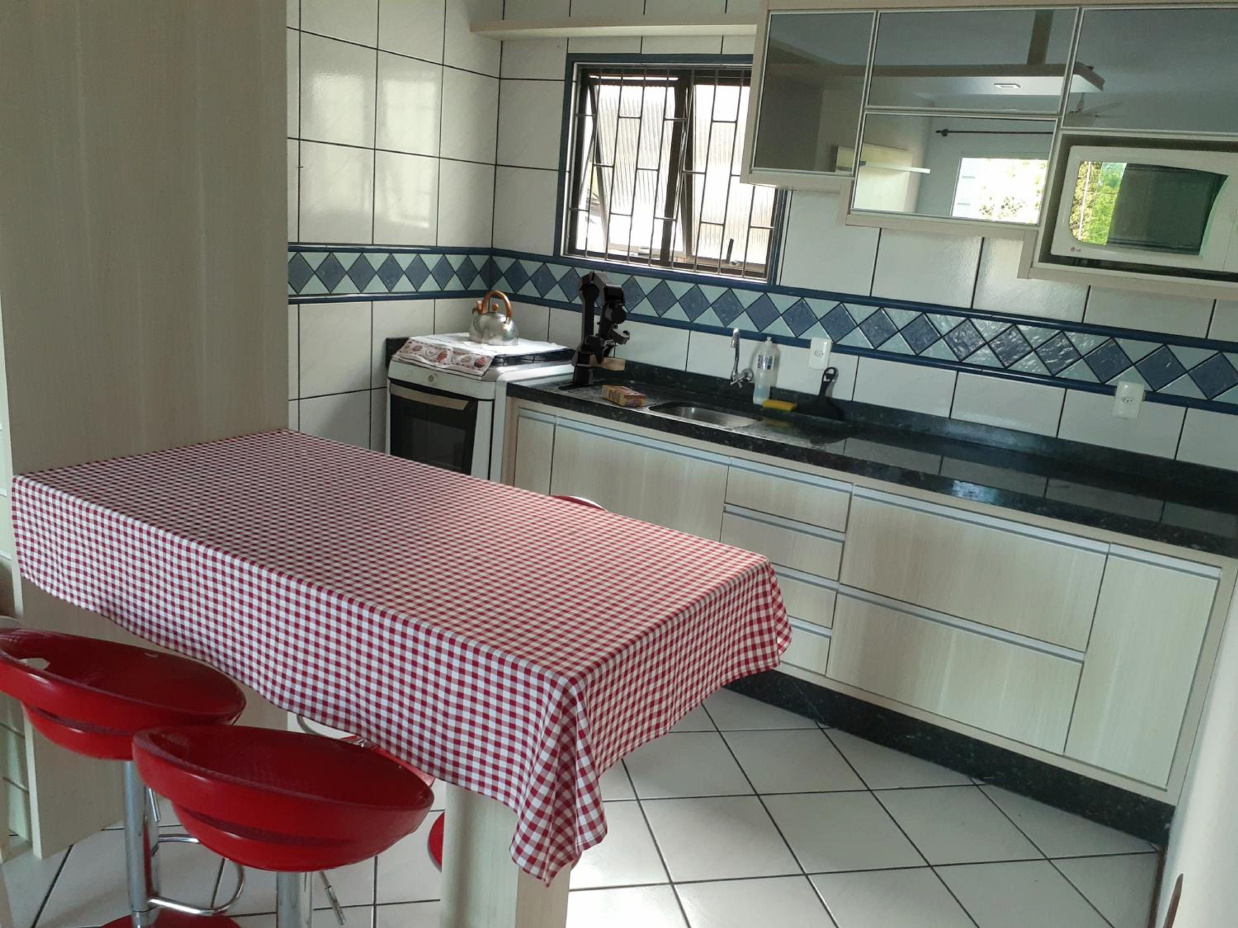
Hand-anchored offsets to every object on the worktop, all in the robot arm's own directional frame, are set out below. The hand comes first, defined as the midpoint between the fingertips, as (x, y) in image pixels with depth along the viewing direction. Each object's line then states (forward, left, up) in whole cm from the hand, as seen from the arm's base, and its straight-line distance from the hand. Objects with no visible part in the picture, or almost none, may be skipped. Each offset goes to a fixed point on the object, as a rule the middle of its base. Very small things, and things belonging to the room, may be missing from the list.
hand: (601, 363), depth 342 cm
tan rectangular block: (+2, 0, -1) cm, 2 cm away
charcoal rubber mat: (+15, 0, -11) cm, 18 cm away
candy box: (+6, -1, -9) cm, 11 cm away
